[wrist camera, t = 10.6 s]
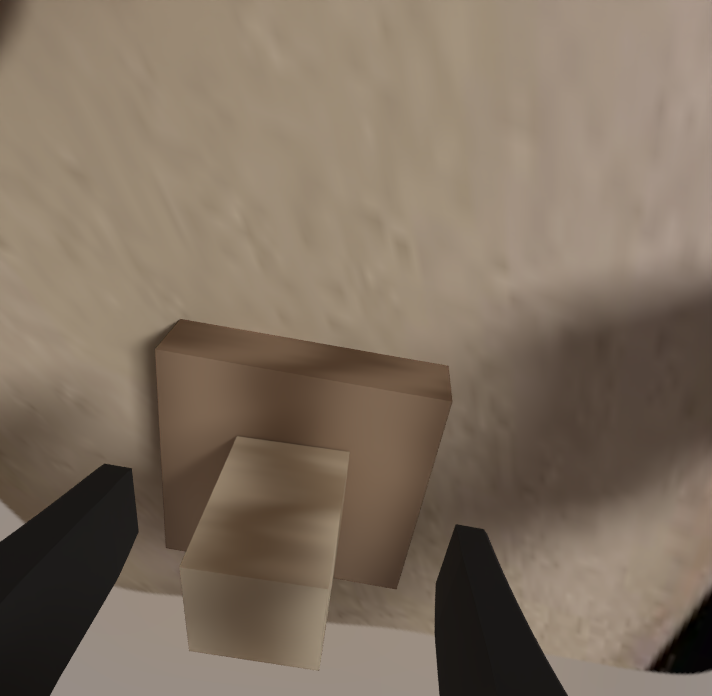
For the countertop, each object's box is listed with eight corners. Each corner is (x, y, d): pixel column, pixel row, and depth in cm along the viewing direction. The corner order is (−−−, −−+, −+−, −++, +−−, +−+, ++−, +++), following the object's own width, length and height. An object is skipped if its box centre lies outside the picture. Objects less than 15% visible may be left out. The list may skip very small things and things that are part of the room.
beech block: (349, 451, 21) (328, 588, 16) (340, 529, 23) (319, 670, 18) (236, 436, 21) (179, 567, 16) (239, 514, 23) (189, 650, 18)
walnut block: (447, 359, 22) (452, 401, 19) (398, 537, 27) (396, 589, 25) (185, 312, 22) (154, 349, 19) (189, 500, 27) (166, 547, 25)
